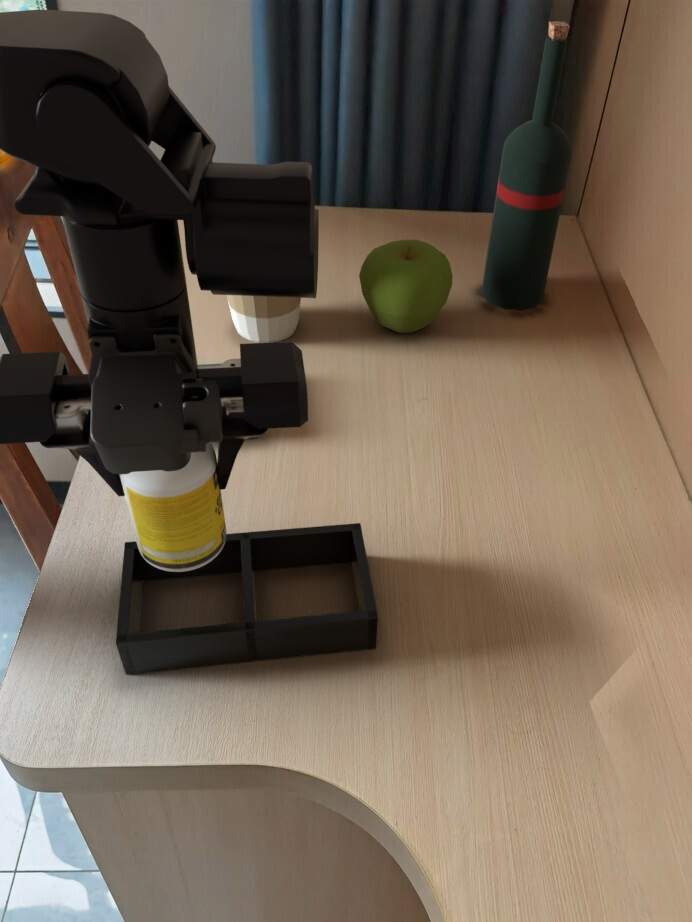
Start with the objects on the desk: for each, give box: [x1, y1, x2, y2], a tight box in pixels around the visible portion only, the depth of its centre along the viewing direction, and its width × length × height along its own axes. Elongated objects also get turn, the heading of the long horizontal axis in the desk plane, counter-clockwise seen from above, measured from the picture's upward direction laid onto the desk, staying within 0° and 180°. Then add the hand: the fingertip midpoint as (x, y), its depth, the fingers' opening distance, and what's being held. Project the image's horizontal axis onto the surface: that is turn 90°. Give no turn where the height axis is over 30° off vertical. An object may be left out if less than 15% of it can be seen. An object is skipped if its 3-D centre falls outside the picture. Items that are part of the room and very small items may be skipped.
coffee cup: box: [226, 295, 302, 343], centre depth 88 cm, size 11×11×15 cm
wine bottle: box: [481, 21, 572, 311], centre depth 91 cm, size 8×10×30 cm
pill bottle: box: [119, 442, 227, 572], centre depth 55 cm, size 6×6×12 cm
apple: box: [358, 239, 453, 334], centre depth 91 cm, size 11×10×10 cm
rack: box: [115, 522, 379, 676], centre depth 63 cm, size 19×10×4 cm, turn 99°
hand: (172, 488), depth 55 cm, fingers closed on pill bottle, 6 cm apart
